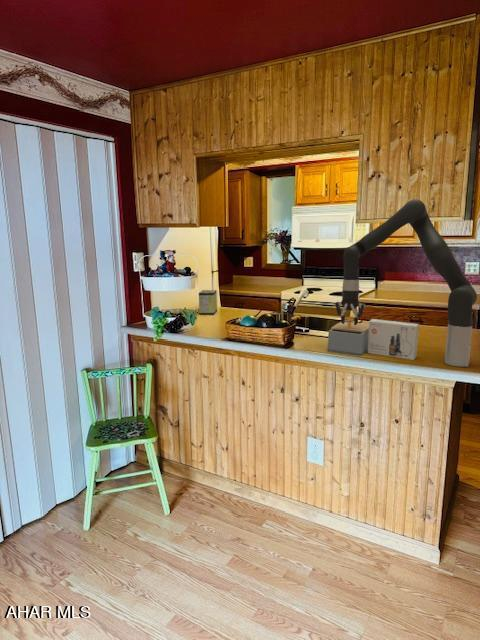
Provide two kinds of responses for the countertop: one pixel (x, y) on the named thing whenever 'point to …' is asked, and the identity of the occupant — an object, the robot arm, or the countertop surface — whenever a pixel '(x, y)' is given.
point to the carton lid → (351, 326)
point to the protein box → (207, 302)
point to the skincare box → (393, 338)
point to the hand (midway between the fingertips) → (349, 324)
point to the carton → (348, 342)
